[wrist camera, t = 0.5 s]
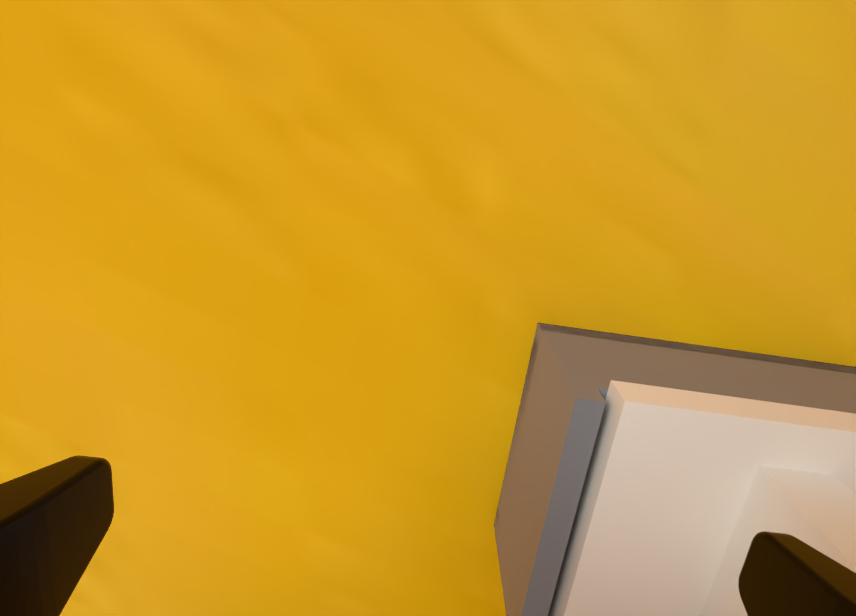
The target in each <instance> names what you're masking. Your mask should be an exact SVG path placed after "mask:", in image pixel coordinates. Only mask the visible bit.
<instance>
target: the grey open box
mask: <svg viewBox="0 0 856 616" xmlns="http://www.w3.org/2000/svg"><path fill="white" fill-rule="evenodd" d="M611 380H614V381H622V382H629V383H636V384H643V385H651V386H658V387H665V388H673V389H680V390H687V391H694V392H702V393H709V394H716V395H724V396H731V397H738V398H745V399H753V400H760V401H767V402H775V403H782V404H789V405H796V406H804V407H811V408H818V409H826V410H833V411H840V412H847V413H855V414H856V367H852V366H844V365H837V364H830V363H823V362H816V361H808V360H801V359H794V358H787V357H780V356H772V355H765V354H758V353H751V352H744V351H737V350H729V349H722V348H715V347H708V346H701V345H693V344H686V343H679V342H672V341H665V340H657V339H650V338H643V337H636V336H629V335H622V334H614V333H607V332H600V331H593V330H586V329H578V328H571V327H564V326H557V325H550V324H543V323H538V324H537V329H536V333H535V338H534V343H533V347H532V352H531V357H530V361H529V366H528V370H527V375H526V380H525V384H524V389H523V394H522V398H521V403H520V407H519V412H518V417H517V421H516V426H515V431H514V435H513V440H512V444H511V449H510V454H509V458H508V463H507V468H506V472H505V477H504V481H503V486H502V491H501V495H500V500H499V505H498V509H497V514H496V518H495V523H494V527H495V535H496V542H497V550H498V557H499V564H500V572H501V579H502V587H503V594H504V601H505V609H506V616H548V613H549V610H550V606H551V602H552V598H553V595H554V591H555V587H556V584H557V580H558V576H559V573H560V569H561V565H562V562H563V558H564V554H565V551H566V547H567V543H568V540H569V536H570V532H571V529H572V525H573V521H574V518H575V514H576V510H577V507H578V503H579V499H580V496H581V492H582V488H583V484H584V481H585V477H586V473H587V470H588V466H589V462H590V459H591V455H592V451H593V448H594V444H595V440H596V437H597V433H598V429H599V426H600V422H601V418H602V415H603V411H604V407H605V404H606V402H605V400H606V396H607V392H608V388H609V385H610V381H611Z"/></svg>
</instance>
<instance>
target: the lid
mask: <svg viewBox="0 0 856 616" xmlns="http://www.w3.org/2000/svg"><path fill="white" fill-rule="evenodd" d="M605 402H606V404H605V407H604V411H603V415H602V418H601V422H600V426H599V429H598V433H597V437H596V440H595V444H594V448H593V451H592V455H591V459H590V462H589V466H588V470H587V473H586V477H585V481H584V484H583V488H582V492H581V496H580V499H579V503H578V507H577V510H576V514H575V518H574V521H573V525H572V529H571V532H570V536H569V540H568V543H567V547H566V551H565V554H564V558H563V562H562V565H561V569H560V573H559V576H558V580H557V584H556V587H555V591H554V595H553V598H552V602H551V606H550V610H549V613H548V616H748V615H747V613H746V610H745V607H744V605H743V602H742V600H741V597H740V593H739V587H738V582H739V575H740V572H741V570H742V567H743V564H744V561H745V559H746V556H747V553H748V550H749V547H750V545H751V542H752V539H753V537H754V536H755V535H756V534H757V533H759V532H762V531H766V532H775V533H784V534H789V535H792V536H794V537H796V538H798V539H799V540H801V541H803V542H804V543H806V544H808V545H809V546H811V547H813V548H814V549H816V550H818V551H820V552H821V553H823V554H825V555H826V556H828V557H830V558H831V559H833V560H835V561H836V562H838V563H840V564H841V565H843V566H845V567H847V568H848V569H850V570H852V571H853V572H855V573H856V414H855V413H847V412H840V411H833V410H826V409H818V408H811V407H804V406H796V405H789V404H782V403H775V402H767V401H760V400H753V399H745V398H738V397H731V396H724V395H716V394H709V393H702V392H694V391H687V390H680V389H673V388H665V387H658V386H651V385H643V384H636V383H629V382H622V381H614V380H611V381H610V385H609V388H608V392H607V396H606V400H605Z"/></svg>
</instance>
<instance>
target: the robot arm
mask: <svg viewBox="0 0 856 616" xmlns="http://www.w3.org/2000/svg"><path fill="white" fill-rule="evenodd" d="M113 513H114V501H113V486H112V471H111V466H110V463H109V462H108V461H107V460H106V459H104V458H97V457H88V456H73V457H70V458H68V459H65V460H62V461H60V462H57V463H55V464H52V465H49V466H47V467H44V468H41V469H39V470H36V471H34V472H31V473H28V474H26V475H23V476H21V477H18V478H15V479H13V480H10V481H8V482H5V483H2V484H0V616H59V615H60V614H61V612H62V610H63V608H64V607H65V605H66V603H67V601H68V599H69V598H70V596H71V594H72V592H73V591H74V589H75V587H76V585H77V584H78V582H79V580H80V578H81V577H82V575H83V573H84V571H85V569H86V568H87V566H88V564H89V562H90V561H91V559H92V557H93V555H94V554H95V552H96V550H97V548H98V547H99V545H100V543H101V541H102V539H103V538H104V536H105V534H106V532H107V531H108V529H109V527H110V524H111V522H112V518H113ZM738 587H739V593H740V597H741V600H742V602H743V605H744V607H745V610H746V613H747V615H748V616H856V573H855V572H853V571H852V570H850V569H848V568H847V567H845V566H843V565H841V564H840V563H838V562H836V561H835V560H833V559H831V558H830V557H828V556H826V555H825V554H823V553H821V552H820V551H818V550H816V549H814V548H813V547H811V546H809V545H808V544H806V543H804V542H803V541H801V540H799V539H798V538H796V537H794V536H792V535H789V534H784V533H775V532H766V531H762V532H759V533H757V534H756V535H755V536H754V537H753V539H752V542H751V545H750V547H749V550H748V553H747V556H746V559H745V561H744V564H743V567H742V570H741V572H740V575H739V582H738Z"/></svg>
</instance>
